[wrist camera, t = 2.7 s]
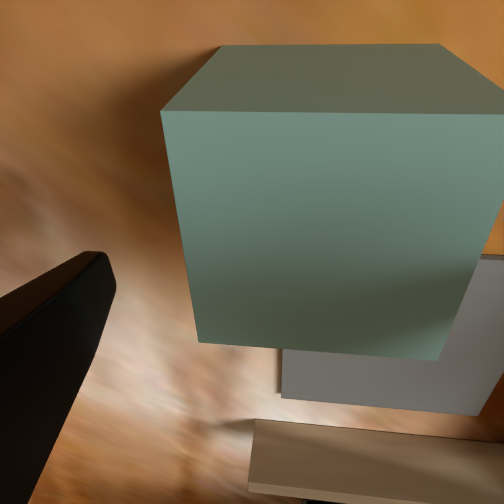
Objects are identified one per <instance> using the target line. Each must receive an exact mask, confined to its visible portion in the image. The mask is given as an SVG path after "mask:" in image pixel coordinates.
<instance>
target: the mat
mask: <svg viewBox="0 0 504 504" xmlns="http://www.w3.org/2000/svg"><path fill="white" fill-rule="evenodd" d="M503 372H504V256H501V255H481V256H480V259H479V261H478V263H477V266H476V268H475V271H474V273H473V276H472V278H471V280H470V283H469V285H468V288H467V290H466V293H465V295H464V297H463V300H462V302H461V305H460V307H459V310H458V312H457V315H456V317H455V319H454V322H453V324H452V327H451V329H450V332H449V334H448V336H447V339H446V341H445V344H444V346H443V349H442V351H441V353H440V356H439V358H438V361H430V360H417V359H404V358H392V357H379V356H366V355H353V354H341V353H328V352H315V351H302V350H290V349H283V352H282V387H281V398H285V399H296V400H307V401H317V402H328V403H339V404H350V405H360V406H371V407H382V408H393V409H404V410H414V411H425V412H436V413H447V414H457V415H468V416H478V415H479V413H480V411H481V410H482V408H483V406H484V405H485V403H486V401H487V400H488V398H489V396H490V394H491V393H492V391H493V389H494V388H495V386H496V384H497V383H498V381H499V379H500V377H501V376H502V374H503Z"/></svg>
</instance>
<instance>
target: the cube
mask: <svg viewBox="0 0 504 504" xmlns="http://www.w3.org/2000/svg"><path fill="white" fill-rule="evenodd" d="M160 113H161V119H162V125H163V131H164V137H165V143H166V149H167V155H168V161H169V167H170V173H171V179H172V185H173V191H174V197H175V203H176V209H177V215H178V221H179V227H180V233H181V239H182V245H183V251H184V257H185V263H186V269H187V275H188V281H189V287H190V293H191V299H192V305H193V312H194V318H195V324H196V330H197V336H198V342H200V343H213V344H226V345H238V346H251V347H264V348H277V349H290V350H302V351H315V352H328V353H341V354H353V355H366V356H379V357H392V358H404V359H417V360H430V361H438V358H439V356H440V353H441V351H442V349H443V346H444V344H445V341H446V339H447V336H448V334H449V332H450V329H451V327H452V324H453V322H454V319H455V317H456V315H457V312H458V310H459V307H460V305H461V302H462V300H463V297H464V295H465V293H466V290H467V288H468V285H469V283H470V280H471V278H472V276H473V273H474V271H475V268H476V266H477V263H478V261H479V259H480V256H481V254H482V251H483V249H484V246H485V244H486V241H487V239H488V237H489V234H490V232H491V229H492V227H493V224H494V222H495V220H496V217H497V215H498V212H499V210H500V207H501V205H502V203H503V200H504V90H503V89H501V88H500V87H499V86H497V85H496V84H494V83H493V82H492V81H490V80H489V79H488V78H486V77H485V76H483V75H482V74H481V73H479V72H478V71H476V70H475V69H474V68H472V67H471V66H469V65H468V64H467V63H465V62H464V61H463V60H461V59H460V58H458V57H457V56H456V55H454V54H453V53H451V52H450V51H449V50H447V49H446V48H444V47H443V46H442V45H440V44H350V45H222V46H221V47H220V49H219V50H218V51H217V52H216V53H215V54H214V55H213V56H212V57H211V58H210V59H209V60H208V61H207V62H206V63H205V64H204V65H203V66H202V67H201V68H200V70H199V71H198V72H197V73H196V74H195V75H194V76H193V77H192V78H191V79H190V80H189V81H188V82H187V83H186V84H185V85H184V86H183V87H182V88H181V90H180V91H179V92H178V93H177V94H176V95H175V96H174V97H173V98H172V99H171V100H170V101H169V102H168V103H167V104H166V105H165V106H164V107H163V108H162V109H161V111H160Z"/></svg>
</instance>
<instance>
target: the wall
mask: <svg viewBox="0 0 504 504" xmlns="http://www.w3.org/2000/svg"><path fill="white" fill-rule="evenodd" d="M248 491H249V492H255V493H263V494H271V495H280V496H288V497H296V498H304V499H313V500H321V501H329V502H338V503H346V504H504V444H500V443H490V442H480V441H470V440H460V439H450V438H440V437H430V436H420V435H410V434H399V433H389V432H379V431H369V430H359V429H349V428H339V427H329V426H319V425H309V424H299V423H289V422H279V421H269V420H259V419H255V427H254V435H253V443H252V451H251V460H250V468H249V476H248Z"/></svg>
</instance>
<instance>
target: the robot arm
mask: <svg viewBox="0 0 504 504" xmlns="http://www.w3.org/2000/svg"><path fill="white" fill-rule="evenodd" d="M115 292H116V280H115V277H114V274H113V270H112V267H111V264H110V261H109V258H108V256H107V254H106V253H104V252H100V251H84V252H82V253H80V254H79V255H77V256H75V257H73V258H71V259H70V260H68V261H66V262H64V263H62V264H61V265H59V266H57V267H55V268H53V269H51V270H50V271H48V272H46V273H44V274H42V275H41V276H39V277H37V278H35V279H33V280H32V281H30V282H28V283H26V284H24V285H22V286H21V287H19V288H17V289H15V290H13V291H12V292H10V293H8V294H6V295H4V296H3V297H1V298H0V504H28V501H29V499H30V497H31V495H32V493H33V490H34V488H35V486H36V484H37V482H38V479H39V477H40V475H41V473H42V471H43V468H44V466H45V464H46V462H47V460H48V457H49V455H50V453H51V451H52V449H53V447H54V444H55V442H56V440H57V438H58V436H59V433H60V431H61V429H62V427H63V425H64V422H65V420H66V418H67V416H68V414H69V411H70V409H71V407H72V405H73V403H74V400H75V398H76V396H77V394H78V392H79V389H80V387H81V385H82V383H83V381H84V378H85V376H86V374H87V372H88V370H89V367H90V365H91V363H92V361H93V358H94V356H95V353H96V350H97V348H98V345H99V342H100V339H101V336H102V333H103V330H104V326H105V323H106V320H107V317H108V314H109V311H110V308H111V305H112V302H113V299H114V296H115ZM302 504H346V503H338V502H329V501H321V500H313V499H304V498H302Z"/></svg>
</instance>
